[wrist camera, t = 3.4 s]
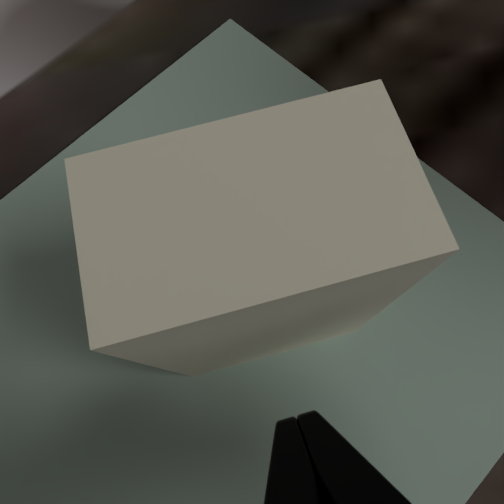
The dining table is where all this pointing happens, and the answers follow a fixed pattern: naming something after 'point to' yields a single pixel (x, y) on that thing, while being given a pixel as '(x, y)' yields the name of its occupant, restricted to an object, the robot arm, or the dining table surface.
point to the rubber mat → (249, 373)
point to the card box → (252, 231)
